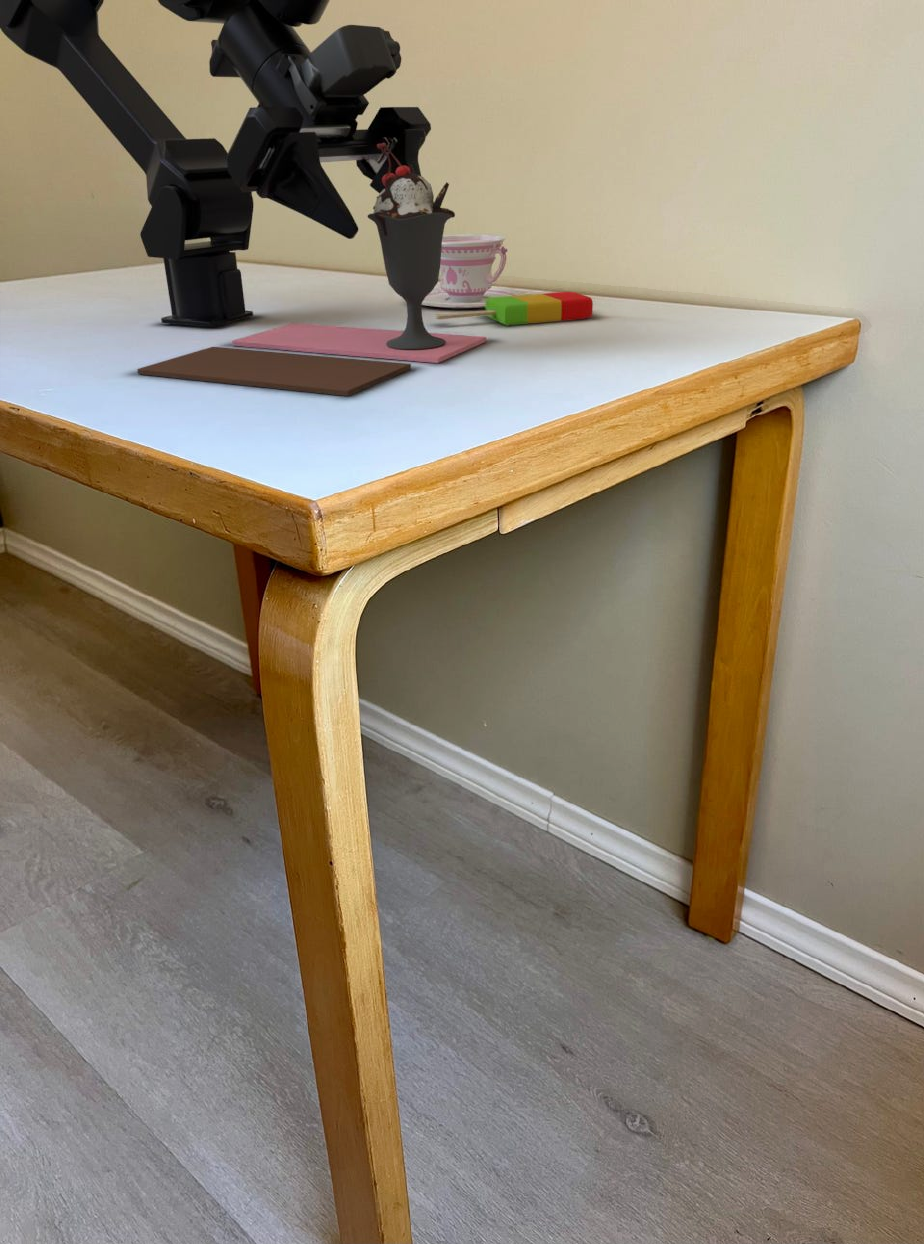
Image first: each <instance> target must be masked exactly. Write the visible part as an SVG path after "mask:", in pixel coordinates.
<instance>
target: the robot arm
mask: <svg viewBox="0 0 924 1244" xmlns="http://www.w3.org/2000/svg"><path fill="white" fill-rule="evenodd" d="M104 2H105V0H0V30H1V32H2V33H3V34H4V35H5V37H6V38H7V39H9V41H10V42H12V43H13V44H14V45H15V46H17V47H18V48H19V49H20V50H21V51H22V52H24V53H25V54H26V55H28V56H30V57H33V58H35V59H36V60H38V61H40V62H43V63H44V64H47V65H49V66H51V67H53V68H55V69H57V70H58V71H59V72H61V74H62V75H63V76H64V78H65V79H66V80H67V81H68V82H69V84H70V85H71V86H72V87H73V89H75V91H76V92H77V94H79V96H80V97H81V98H82V99H83V100H84V102H85V103H86V104H87V105H88V106H89V107H90V109H91V111H93V112H94V114H95V115H96V116H97V117H98V118H99V120H100V121H101V122H102V123H103V125H104V126H105V127H106V129H108V131H109V132H110V133H111V134H112V135H113V136H114V138H115V139H116V140H117V141H118V142H119V143H120V145H121V146H122V147H123V148H124V150H125V151H126V152H127V153H128V154H129V155H130V157H131V158H132V159H133V160H134V161H135V163H136V164H137V165H138V166H139V168H140V169H141V170H142V171H143V172H144V174H145V178H146V190H147V191H146V193H147V201H148V203H149V205H150V206H151V208H150V210H149V213H148V215H147V217H146V218H145V221H144V224H143V225H142V228H141V231H140V234H139V236H140V239H141V242H142V244H143V247H144V250H145V252H146V255H147V257H148V258H158V259H163V265H164V272H165V279H166V285H167V292H168V299H169V304H170V311H171V315H167V316H163V317H161V318H160V320H161V321H160V322H161V323H162V324H169V325H170V324H171V325H183V326H195V327H208V328H209V327H217V326H221V325H222V326H223V325H225V324H228V323H232V322H237V321H240V320H243V319H247V318H251V317H254V310H246V304H245V296H244V295H245V294H244V288H243V279H242V272H241V270H240V269H239V268H238V262H237V255H236V253H237V252H236V251H248V250H249V248H250V239H251V231H252V224H253V223H252V222H253V216H254V214H253V212H254V206H255V205H254V198H253V192H256V195H257V196H258V197H259V198H260V199H268V200H270V201H273V202H275V203H277V204H279V205H281V206H284V207H285V208H288V209H290V210H292V211H293V212H296V213H298V214H301V215H303V216H305V217H306V218H308V219H311V220H312V221H314V222H316V223H318V224H319V225H322V226H324V227H325V228H327V229H329V230H331V231H333V232H335V233H336V234H339V235H340V236H342V237H344V238H346V239H349V240H352V239H354V238H355V237H356V235H357V234H358V232H359V226H358V224H357V222H356V220H355V219H354V216H353V214H352V213H351V211H350V209H349V208H348V206H347V204H346V202H345V201H344V199H343V198H342V197H341V195H340V193H339V192H338V190H337V188H336V187H335V185H334V183H333V182H332V180H331V179H330V177H329V176H328V174H327V172H326V171H325V169H324V168H323V166H322V163H331V162H349V161H355V163H356V167H357V168H358V170H359V171H360V172H361V174H362V175H363V176H364V177H366V178H368V179H370V180H371V181H370V184H369V186H370V187H371V188H372V189H373V190H374V191H376V193H378V195H379V194H380V193H381V192H382V191H383V190H384V188H385V186H384V184H383V182H382V178H383V176H384V175H386V174H387V173H388V170H389V162H388V158H387V156H386V154H385V153H384V152H383V151H381V150H380V149H378V148H377V144H382V143H386V147H387V148H388V149H389V150H390V151H391V152H392V154H393V155H394V156H395V157H396V159H397V160H398V161H399V162H400V164H401V165H403V166H407V167H409V168H410V172H411V173H415V174H418V175H420V176H422V173H421V168H420V162H419V154H420V153H419V152H420V150H421V148H422V147H423V145H424V143H425V142H426V138H427V136H428V135H429V133H430V132H431V130H432V125H431V123H430V121H429V120H428V118H427V117H426V116H425V114H424V113H423V111H422V110H421V109H420V108H419V106H383V107H382V106H380V108H379V109H378V110H377V113H376V114H375V116H374V117H373V119H372V120H371V122H370V124H369V126H368V127H367V129H366V128H365V129H357V128H358V125H359V123H358V121H357V118H358V117H359V116H363V115H364V113H365V111H366V110H367V108H368V106H369V105H370V102H369V101H368V99H367V98H366V96H365V95H367V93H369V92H370V91H372V90H373V89H374V88H375V87H376V86H378V85H379V84H380V83H382V82H383V81H384V80H386V79H388V80H390V79H391V78H392V77H394V76H395V75H396V73H397V70H398V69H400V67H401V65H402V55H401V53H400V52H401V45H400V43H399V41H397V40H394V39H393V38H392V35H391V33H390V31H389V30H385V29H384V28H382V27H380V26H373V25H360V24H347V25H343V26H341V27H339V28H337V29H336V30H335V31H333V32H332V33H331V34H330V35H329V36H328V37H326V38H325V40H323V41H322V42H320V44H319V45H318V46H316V47H315V48H314V49H313V50H312V51H311V50H310V49H309V47H308V46H307V44H306V43H305V42H304V41H303V39H302V37H300V35H299V34H298V32H297V31H296V29H295V28H299V27H301V26H302V25H316V24H318V23H319V22H320V20H321V18H322V16H323V15H324V13H325V11H326V9H327V7H328V5H329V3H330V2H331V0H157V2H158V3H159V5H160V6H162V7H163V8H165V9H166V10H168V11H169V12H171V13H173V14H174V15H176V16H177V17H179V18H181V19H182V20H184V21H186V22H192V23H193V22H195V23H208V24H219V25H220V24H221V25H222V27H221V30H220V32H219V34H218V36H217V39H211V42H210V45H211V54H210V58H209V60H208V62H209V63H208V65H209V66H208V68H209V74H210V76H211V77H213V78H237V79H238V78H239V79H241V80H242V82H243V83H244V85H245V86H246V88H248V90H249V91H250V93H251V94H252V96H253V97H254V98H255V100H256V101H257V103H258V105H257V106H255V107H249V108H248V111H247V113H246V115H245V117H244V119H243V121H242V123H241V125H240V127H239V129H238V131H237V133H236V135H235V137H234V139H233V141H232V144H231V146H230V148H229V150H228V151H227V150H226V148H225V146H224V145H223V144H222V143H221V142H220V141H218V140H217V138H213V137H212V138H211V137H209V138H186V137H185V136H184V134H183V133H182V132H181V131H180V130H179V129H178V127H177V126H176V125H175V124H174V122H173V121H172V120H171V119H170V118H169V116H167V114H166V113H165V112H164V111H163V110H162V109H161V107H160V106H159V105H158V104H157V102H156V101H155V100H154V99H153V98H152V97H151V96H150V95H149V93H148V92H147V91H146V89H144V87H143V86H142V85H141V84H140V83H139V81H138V80H137V79H136V77H134V76H133V74H132V73H131V72H130V71H129V70H128V69H127V67H126V66H125V65H124V64H123V63H122V61H121V60H120V59H119V57H117V55H116V54H115V52H113V51H112V50H111V49H110V47H109V46H108V45H107V43H105V41H104V40H103V39H102V38H101V36H100V32H99V31H100V30H99V29H100V28H99V13H98V12H99V11H100V10H101V8H102V6H103V4H104ZM383 150H384V151H385V152H386V153H387V154H388V156H389V158H390V162H391V173H393V174H395V175H396V169H397V168H398V167H399V165H398V163H397V162H396V160H395V159H394V158H393V156H392V155H391V154H390V152H389V151H388V150H386V149H385V148H384V147H383ZM201 239H202V240H203V239H209V240H207V241H199V242H193V243H191V242H190V243H186V241H193V240H201Z"/></svg>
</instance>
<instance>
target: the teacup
mask: <svg viewBox="0 0 924 1244" xmlns="http://www.w3.org/2000/svg"><path fill="white" fill-rule="evenodd" d="M505 240H506V237H505V236H503V235H497V234H495V235H494V234H479V233H477V234H476V233H474V234H471V233H469V234H465V233H464V234H463V233H462V234H443V238H442V248H441V262H440V271H439V273H440V285H439V286H440V287H437V288H434V289H433V290H432V291H431V292H430V293H429V294H428V295H427V296H426V297H425V299H424V300H423V302H422V306H428V307H433V308H434V307H435V308H441V309H484V308H485V304H486V300H487V299H488V298H491V297H504V296H517V295H526V293H525V292H524V291H522V290H519V289H516V288H511V287H503V286H493V283H495V282H496V281H497V280H498V279H499V277H500V275H501V274H502V273H503V271H504V269H505V267H506V262H507V254H506V253H507V252H508V248H506V247H504V245H503V244H504V241H505ZM497 254H499V256H500V261H499V264H498V268H497V269H496V271H495V272H494V274H493V275H492V266H493V264H494V262H495V260H496V259H497V256H496V255H497Z"/></svg>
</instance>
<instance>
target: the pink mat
mask: <svg viewBox="0 0 924 1244" xmlns="http://www.w3.org/2000/svg"><path fill="white" fill-rule="evenodd" d="M404 331H405V330H393V329H382V328H366V327H352V326H341V325H340V326H339V325H325V324H324V325H323V324H310V323H297V322H296V323H295V322H292V323H288V324H285V325H281V326H278V327H274V328H270V329H268V330H264V331H261V332H258V333H254V334H251V335H247V336H244V337H240V338H238V339H235V340H232V341H231V344H232V345H231V346H233V347H246V348H254V349H255V348H256V349H269V350H279V351H290V352H303V353H314V354H326V355H340V356H349V357H350V356H351V357H361V358H371V359H373V358H374V359H384V360H395V361H396V360H398V361H409V362H419V363H430V364H431V363H432V364H439V363H441V362H445V361H446V360H448V359H450V358H452V357H455V356H457V355H459V354H462V353H464V352H466V351H468V350H472V349H473V348H475V347H477V346H480V345H482V344H484V343H486V342H487V336H480V335H479V336H477V335H466V334H465V335H463V334H453V333H452V334H450V333H437V332H436V333H435V332H434V333H433V332H428V333H429V334H430V335H432V336H434V337H438V338H442V339H444V340H445V341H446V343H445V344H444V345H443V346H441V347H438V348H432V349H425V350H399V349H393V348H390V347H388V346H387V345H386V343H387V341H389V340H391V339H394V338H397V337H399V336H401V335H402V333H403V332H404Z"/></svg>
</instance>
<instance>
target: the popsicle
mask: <svg viewBox="0 0 924 1244" xmlns="http://www.w3.org/2000/svg"><path fill="white" fill-rule="evenodd" d="M593 307H594V303H593V299H592V297H590V296H588V295H585V294H582V293H578V292H575V291H557V292H556V291H555V292H545V293H532V294H525V295H517V296H504V297H491V298H488V299H487V300H486V304H485V310H477V311H463V312H452V313H440V314H435V319H436V320H447V319H458V318H469V317H470V318H471V317H482V316H486V317H488V318H489V319H490V320H494V321H496V322H498V323H500V324H503V325H505V326H516V325H530V324H539V323H541V324H542V323H549V322H550V323H551V322H561V321H562V322H563V321H574V320H584V319H585V320H586V319H589V318H591V317H592V315H593Z"/></svg>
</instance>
